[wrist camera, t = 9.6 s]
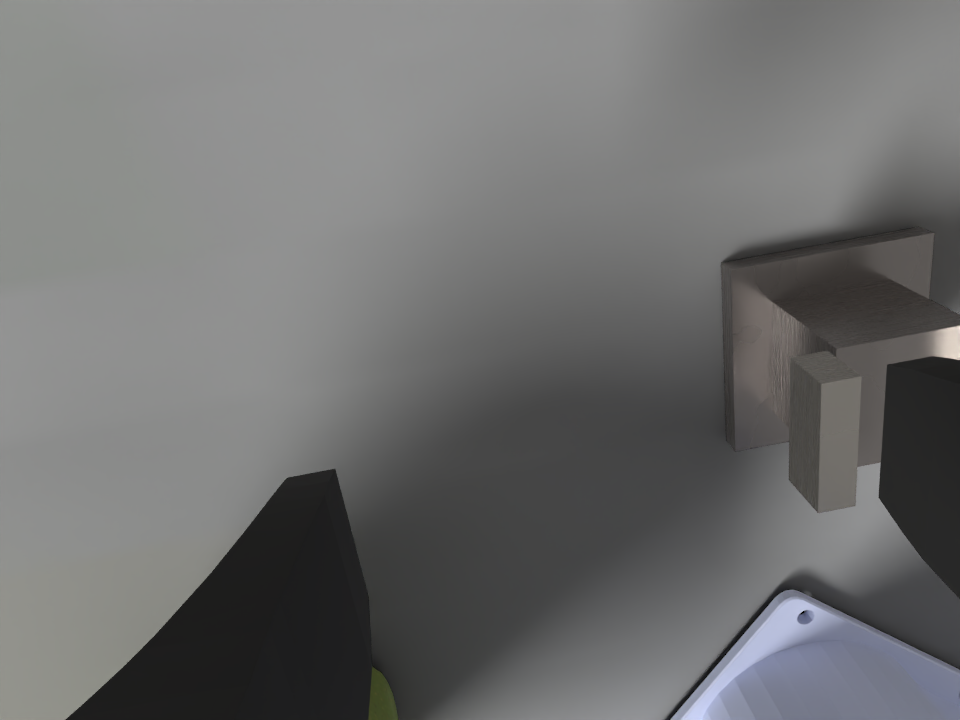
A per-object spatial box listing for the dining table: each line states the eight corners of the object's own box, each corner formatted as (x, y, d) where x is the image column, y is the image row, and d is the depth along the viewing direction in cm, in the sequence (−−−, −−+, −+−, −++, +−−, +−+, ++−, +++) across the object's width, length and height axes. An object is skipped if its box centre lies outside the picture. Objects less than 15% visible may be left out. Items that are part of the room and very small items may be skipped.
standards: (905, 406, 22) (1041, 507, 17) (726, 440, 21) (817, 552, 17) (965, -404, 15) (1218, -586, 10) (703, -365, 15) (844, -534, 10)
